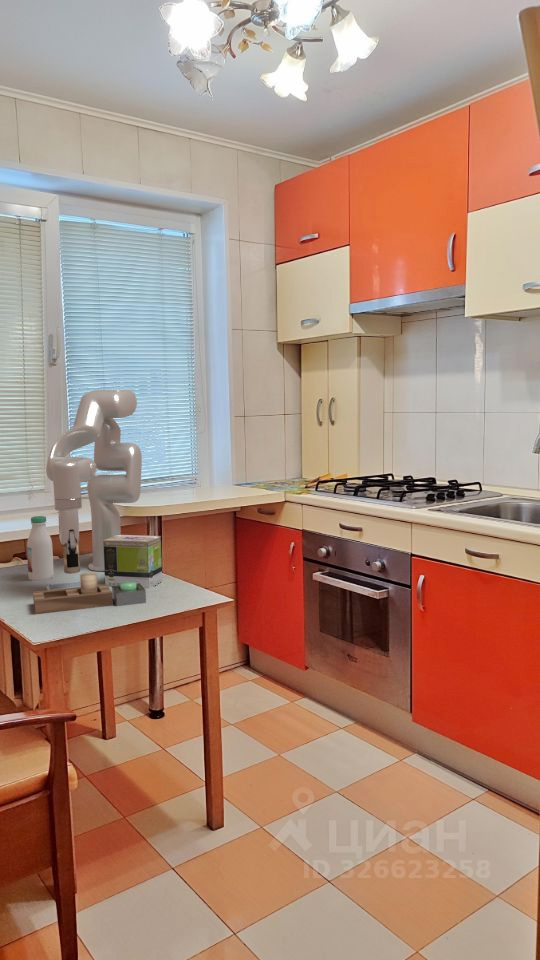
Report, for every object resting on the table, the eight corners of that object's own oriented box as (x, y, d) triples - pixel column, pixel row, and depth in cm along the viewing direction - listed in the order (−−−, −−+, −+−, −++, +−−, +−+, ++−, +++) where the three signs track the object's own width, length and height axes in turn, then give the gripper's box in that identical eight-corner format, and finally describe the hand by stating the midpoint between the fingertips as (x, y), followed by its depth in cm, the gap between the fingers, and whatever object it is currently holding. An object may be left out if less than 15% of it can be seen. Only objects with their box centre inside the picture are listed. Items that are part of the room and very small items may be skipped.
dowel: (63, 570, 207) (62, 544, 206) (79, 568, 209) (77, 542, 207) (65, 574, 203) (63, 547, 202) (80, 572, 205) (79, 545, 203)
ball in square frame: (112, 600, 199) (111, 586, 198) (140, 596, 202) (139, 583, 201) (116, 607, 191) (116, 593, 191) (146, 604, 194) (145, 590, 194)
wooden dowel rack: (33, 605, 194) (33, 591, 193) (107, 597, 201) (106, 584, 201) (35, 615, 185) (35, 601, 184) (112, 607, 192) (112, 592, 191)
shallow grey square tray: (46, 591, 209) (46, 584, 209) (91, 586, 214) (91, 580, 213) (50, 602, 197) (49, 595, 197) (97, 597, 202) (97, 590, 201)
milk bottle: (57, 575, 227) (55, 514, 225) (47, 581, 220) (45, 518, 218) (34, 575, 228) (31, 514, 226) (24, 581, 221) (21, 518, 218)
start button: (119, 593, 198) (119, 582, 197) (135, 591, 199) (134, 581, 199) (122, 597, 193) (121, 586, 193) (138, 595, 195) (137, 584, 195)
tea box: (163, 581, 219) (161, 535, 217) (149, 590, 209) (147, 541, 207) (119, 579, 223) (118, 533, 221) (103, 587, 213) (102, 539, 211)
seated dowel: (80, 601, 196) (79, 573, 195) (96, 599, 197) (95, 572, 196) (82, 605, 192) (81, 577, 191) (98, 603, 193) (97, 575, 192)
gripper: (52, 499, 209) (56, 559, 212) (57, 510, 193) (61, 574, 196) (78, 497, 212) (81, 556, 215) (85, 507, 196) (88, 570, 199)
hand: (71, 564), depth 205 cm, fingers closed on dowel, 4 cm apart
